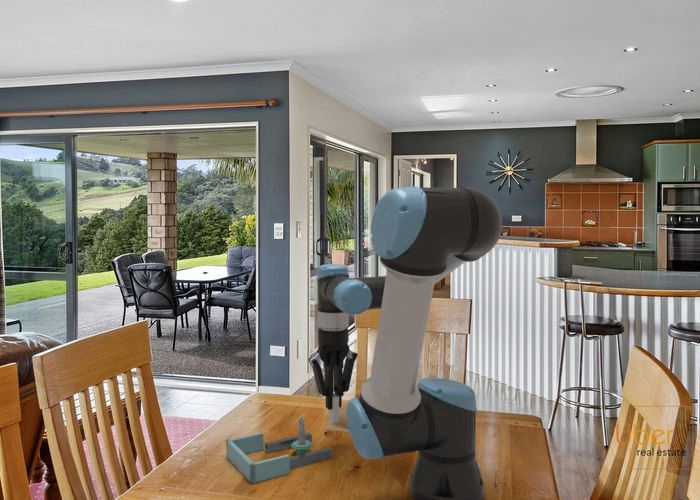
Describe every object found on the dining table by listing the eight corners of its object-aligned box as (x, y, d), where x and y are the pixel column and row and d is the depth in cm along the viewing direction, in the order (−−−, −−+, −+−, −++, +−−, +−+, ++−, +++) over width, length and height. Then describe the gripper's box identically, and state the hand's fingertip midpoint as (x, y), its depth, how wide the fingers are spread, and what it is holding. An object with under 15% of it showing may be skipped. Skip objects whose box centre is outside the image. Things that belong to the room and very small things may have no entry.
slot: (332, 457, 138) (332, 449, 137) (285, 470, 131) (285, 461, 131) (309, 440, 148) (309, 432, 148) (265, 451, 142) (265, 443, 142)
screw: (316, 451, 141) (304, 459, 137) (299, 447, 144) (287, 455, 139) (315, 415, 140) (303, 422, 136) (299, 411, 143) (286, 418, 139)
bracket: (289, 473, 130) (289, 456, 129) (251, 483, 125) (250, 465, 125) (262, 448, 143) (261, 432, 143) (226, 456, 139) (226, 440, 138)
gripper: (348, 321, 149) (348, 411, 151) (302, 327, 142) (303, 421, 145) (364, 327, 143) (363, 420, 145) (316, 333, 136) (317, 431, 138)
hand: (333, 420), depth 145 cm, fingers closed
